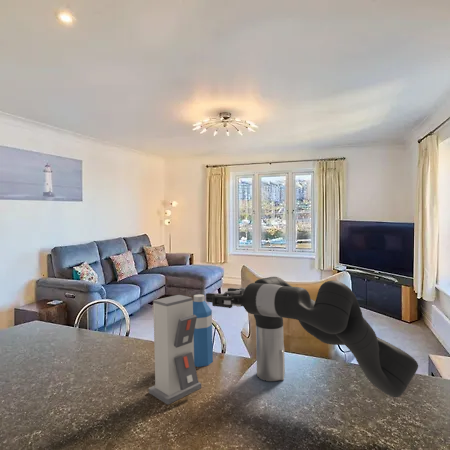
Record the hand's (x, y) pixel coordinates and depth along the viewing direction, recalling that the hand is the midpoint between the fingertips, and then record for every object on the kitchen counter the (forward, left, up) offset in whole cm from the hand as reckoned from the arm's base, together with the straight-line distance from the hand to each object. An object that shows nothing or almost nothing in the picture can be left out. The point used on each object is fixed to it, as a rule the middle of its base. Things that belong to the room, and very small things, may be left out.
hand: (218, 294), depth 90 cm
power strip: (+17, -10, -33) cm, 38 cm away
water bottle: (+16, -32, -33) cm, 49 cm away
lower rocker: (+11, -6, -29) cm, 32 cm away
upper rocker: (+13, -7, -17) cm, 23 cm away
